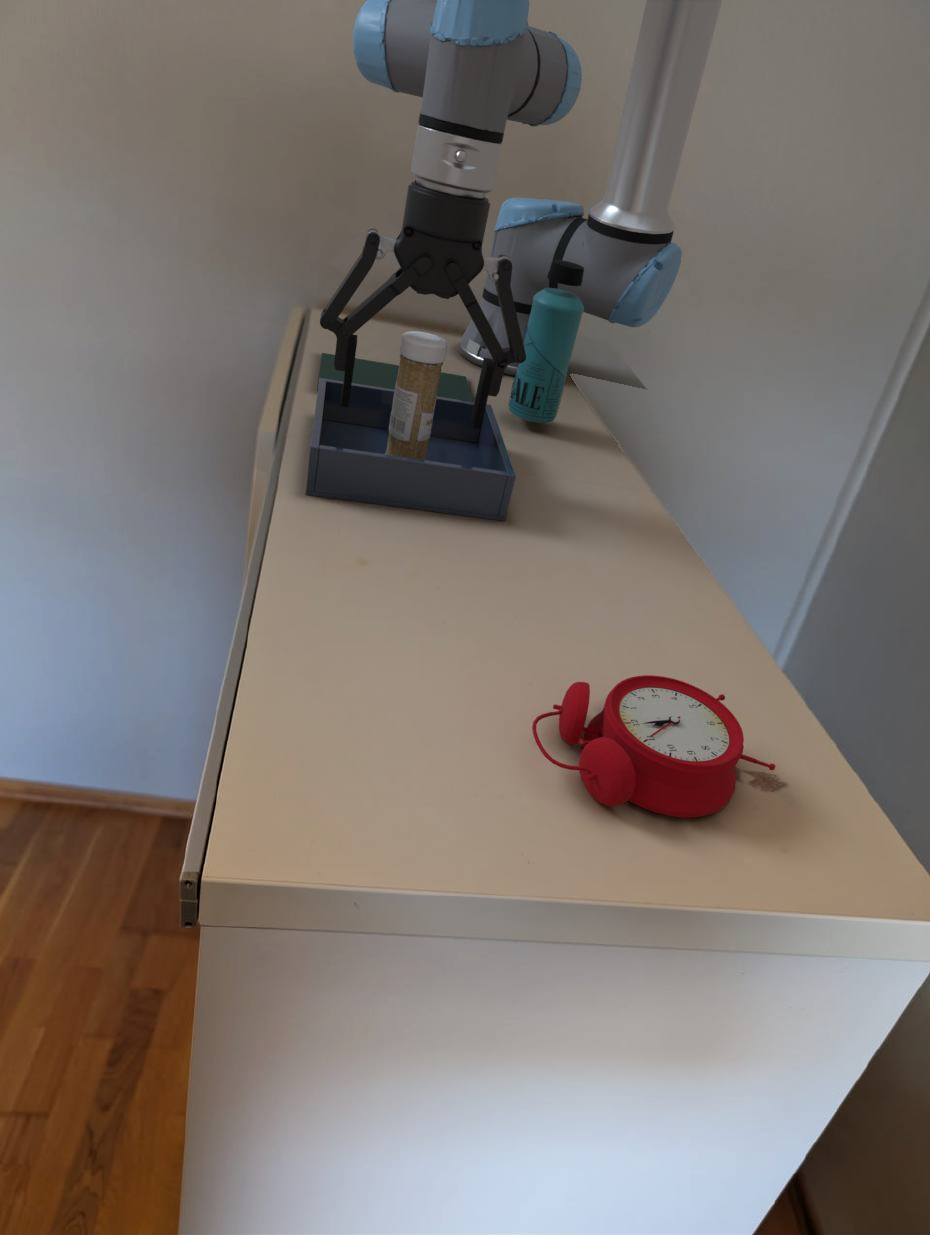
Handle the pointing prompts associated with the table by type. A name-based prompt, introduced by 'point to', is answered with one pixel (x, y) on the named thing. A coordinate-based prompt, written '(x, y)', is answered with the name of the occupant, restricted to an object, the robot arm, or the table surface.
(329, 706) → the table surface
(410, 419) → the sprinkles bottle
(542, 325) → the beverage bottle
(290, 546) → the table surface
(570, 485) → the table surface
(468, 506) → the open box
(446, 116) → the robot arm
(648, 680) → the alarm clock
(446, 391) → the mat
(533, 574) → the table surface
